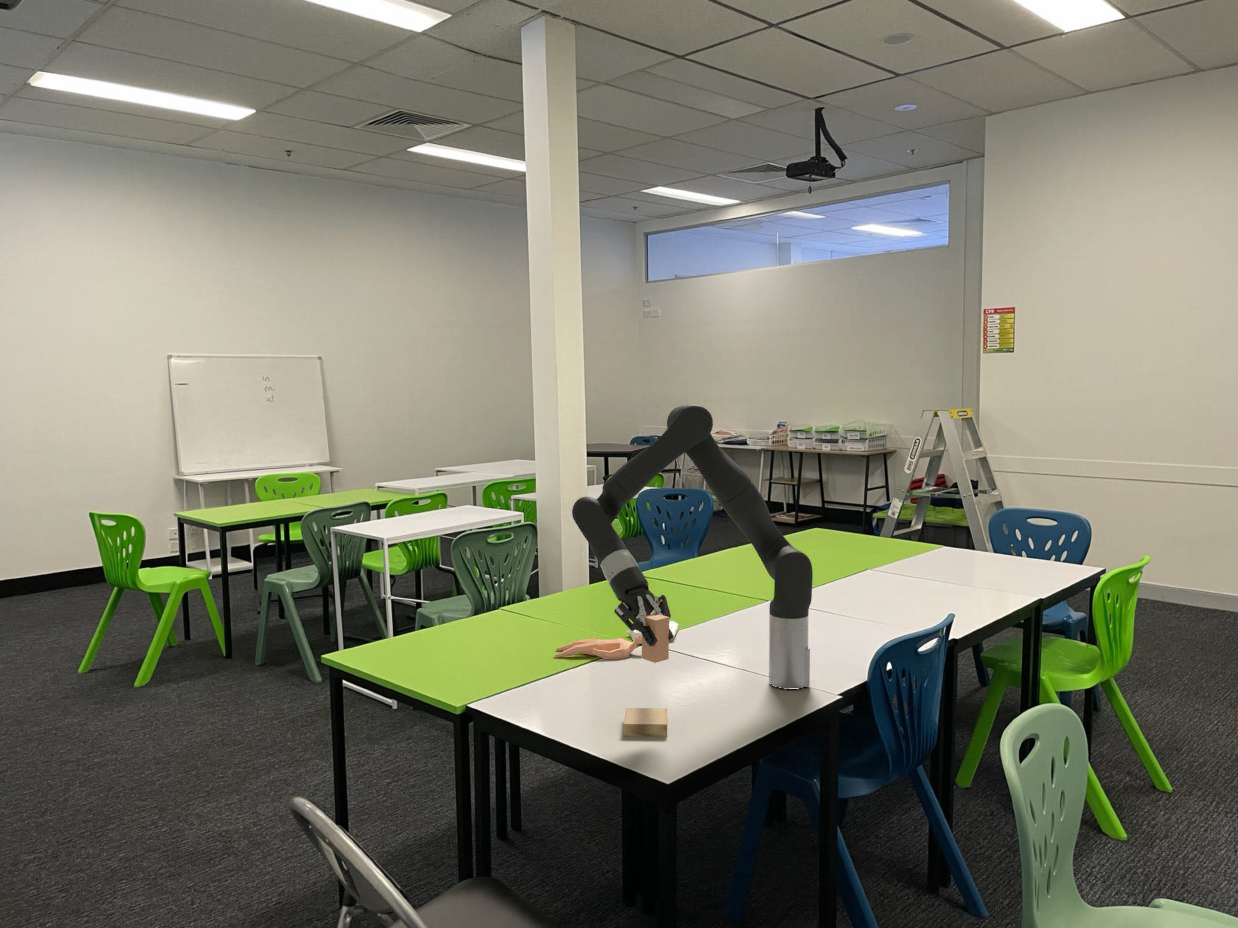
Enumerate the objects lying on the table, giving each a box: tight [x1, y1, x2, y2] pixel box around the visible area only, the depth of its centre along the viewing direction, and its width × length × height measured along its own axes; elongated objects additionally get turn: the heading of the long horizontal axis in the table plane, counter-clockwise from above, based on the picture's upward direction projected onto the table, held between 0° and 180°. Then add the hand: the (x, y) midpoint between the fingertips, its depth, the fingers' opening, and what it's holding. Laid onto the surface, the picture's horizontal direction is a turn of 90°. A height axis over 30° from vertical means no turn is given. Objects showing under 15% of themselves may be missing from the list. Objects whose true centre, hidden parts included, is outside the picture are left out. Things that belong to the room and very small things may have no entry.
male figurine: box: [554, 636, 642, 660], centre depth 235 cm, size 11×5×25 cm
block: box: [641, 613, 670, 664], centre depth 182 cm, size 4×4×9 cm
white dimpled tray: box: [625, 620, 680, 642], centre depth 253 cm, size 3×18×15 cm
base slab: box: [623, 707, 668, 738], centre depth 183 cm, size 9×9×3 cm
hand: (661, 641), depth 181 cm, fingers closed on block, 4 cm apart
